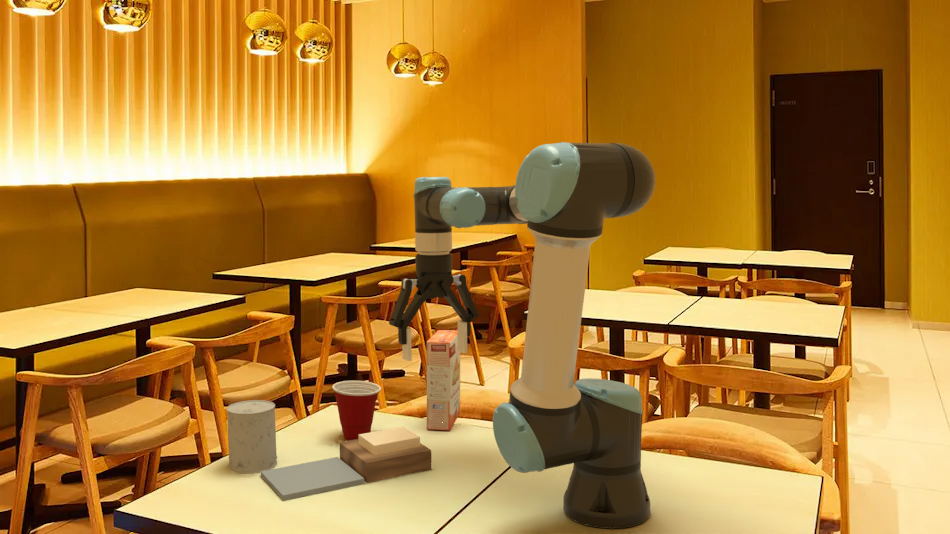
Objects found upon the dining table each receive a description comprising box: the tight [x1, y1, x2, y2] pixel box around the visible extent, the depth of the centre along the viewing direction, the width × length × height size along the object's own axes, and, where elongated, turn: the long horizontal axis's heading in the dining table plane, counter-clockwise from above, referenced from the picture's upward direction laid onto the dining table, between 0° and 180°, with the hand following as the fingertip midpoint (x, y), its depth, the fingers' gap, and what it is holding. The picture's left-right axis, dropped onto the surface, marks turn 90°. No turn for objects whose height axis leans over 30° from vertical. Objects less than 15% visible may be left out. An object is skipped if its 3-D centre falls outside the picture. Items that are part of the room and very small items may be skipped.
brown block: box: [338, 439, 433, 484], centre depth 174 cm, size 14×14×4 cm
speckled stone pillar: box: [226, 399, 278, 475], centre depth 174 cm, size 10×10×12 cm
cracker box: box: [426, 329, 461, 432], centre depth 201 cm, size 14×6×21 cm, turn 171°
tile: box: [358, 426, 421, 455], centre depth 174 cm, size 8×10×2 cm
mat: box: [260, 456, 366, 502], centre depth 166 cm, size 14×16×1 cm
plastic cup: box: [332, 380, 382, 441], centre depth 190 cm, size 11×11×12 cm
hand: (435, 355), depth 177 cm, fingers open, 12 cm apart
